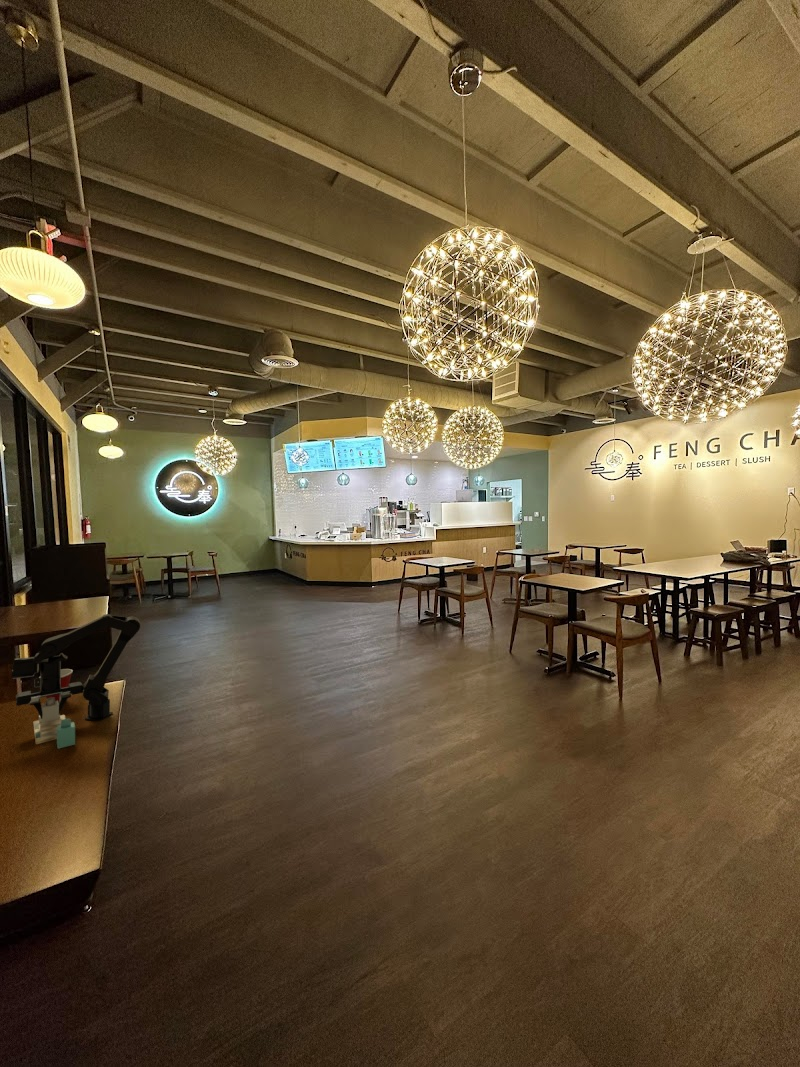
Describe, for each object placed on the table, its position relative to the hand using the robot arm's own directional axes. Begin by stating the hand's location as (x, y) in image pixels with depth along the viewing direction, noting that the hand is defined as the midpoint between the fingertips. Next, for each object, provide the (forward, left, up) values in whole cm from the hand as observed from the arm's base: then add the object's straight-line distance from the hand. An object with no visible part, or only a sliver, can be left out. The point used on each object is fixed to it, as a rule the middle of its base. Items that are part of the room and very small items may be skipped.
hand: (50, 716), depth 157 cm
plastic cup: (+16, -17, -4) cm, 24 cm away
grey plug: (0, 0, -2) cm, 2 cm away
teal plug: (-16, +10, -3) cm, 20 cm away
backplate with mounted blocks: (-3, +3, -3) cm, 5 cm away
